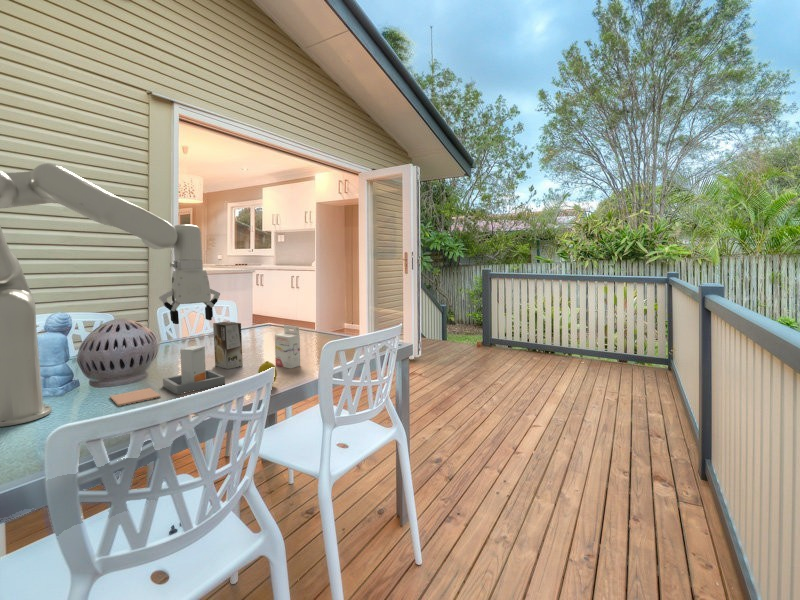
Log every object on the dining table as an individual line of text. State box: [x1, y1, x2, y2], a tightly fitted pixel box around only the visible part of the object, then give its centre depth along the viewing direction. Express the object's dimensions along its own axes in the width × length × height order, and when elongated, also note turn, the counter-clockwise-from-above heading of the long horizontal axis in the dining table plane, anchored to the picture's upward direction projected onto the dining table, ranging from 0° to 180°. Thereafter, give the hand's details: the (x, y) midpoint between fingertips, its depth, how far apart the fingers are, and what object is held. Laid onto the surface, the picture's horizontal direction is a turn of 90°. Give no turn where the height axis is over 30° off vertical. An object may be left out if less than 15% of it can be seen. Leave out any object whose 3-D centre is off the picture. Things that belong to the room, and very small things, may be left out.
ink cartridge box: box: [274, 324, 301, 369], centre depth 150 cm, size 9×5×15 cm, turn 58°
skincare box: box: [180, 345, 207, 385], centre depth 126 cm, size 6×4×12 cm
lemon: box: [257, 360, 278, 383], centre depth 125 cm, size 6×6×8 cm
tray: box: [162, 369, 226, 396], centre depth 127 cm, size 14×12×2 cm
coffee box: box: [212, 320, 244, 370], centre depth 150 cm, size 9×6×16 cm
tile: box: [109, 387, 161, 407], centre depth 115 cm, size 10×10×1 cm
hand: (192, 321), depth 125 cm, fingers open, 9 cm apart
